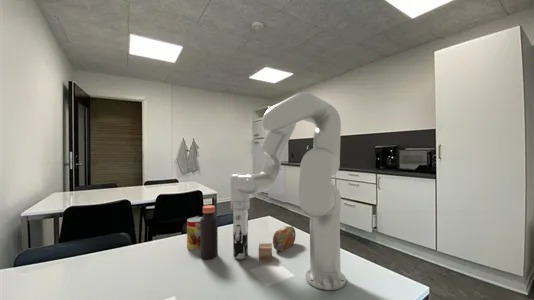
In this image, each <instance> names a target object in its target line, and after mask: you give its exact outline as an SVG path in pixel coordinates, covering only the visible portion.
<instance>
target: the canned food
mask: <svg viewBox="0 0 534 300" xmlns="http://www.w3.org/2000/svg"><path fill="white" fill-rule="evenodd" d="M202 217H203V216H194V217H189V218H187V220H186V247H187V249H190V250H199V249H200V220H201V218H202Z"/></svg>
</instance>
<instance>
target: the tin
mask: <svg viewBox="0 0 534 300" xmlns="http://www.w3.org/2000/svg"><path fill="white" fill-rule="evenodd" d="M295 241H296V229H295V227H293V226H284V227H281V228H280V229H278V230H276V231H275V232H274V233H273V237H272V247H273V248H274V249H275V251H278V252H279V251H280V252H284V251H285V250H287V249H289V248H290V247H292V246H293V245H294V244H295Z"/></svg>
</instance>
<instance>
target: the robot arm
mask: <svg viewBox="0 0 534 300" xmlns="http://www.w3.org/2000/svg"><path fill="white" fill-rule="evenodd" d="M301 121H304V122H307V123H312V124H314V125H315V129H314V132H313V144H312V145H313V146H312V148H311V149H310V150H308V151H306V153H304V155H303V156H302V159H301V162H300V165H299V180H298V181H299V185H298V203H299V207H300V209H301V210H302V212H303V213H304V214H305V215H306V216H308V217H309V255H310V256H309V257H310V258H309V260H310V261H309V262H310V263H309V264H310V267H309V268H310V269H308V270H307V271H306V273H305V280H306V282H307V283H308V284H309V285H310V286H312V287H314V288H316V289H319V290H324V291H325V290H326V291H336V290H339V289H342V288H343V287H345V286H346V283H347V277H346V276H345V275H344V273H342V272H341V271H342V270H341V237H340V236H341V223H340V222H341V206H342V205H341V204H342V198H341V192H340V190H339V188H338V187H337V186H336V184H334V183H332V177H334V176H335V175H336V174H337V173H338V172H339V170H340V167H341V165H340V164H341V161H340V160H341V157H340V156H341V135H342V134H341V131H342V122H341V116H340V114H339V111H338V110H337V109H336V107H334V106H333V105H332V104H330V103H328V102H327V101H325V100H324V99H321V98H320V97H317V96H316V95H315V94H313V93H311V92H307V91H301V92H298V93H296V94H295V93H294V95H292V96H290V97H288V98H286V99H284V100H282V101H280V102H279V103H277V104H274V105H272V106H271V107H270V108H269V109H267V110H266V111H265V113H264V114H263V115H262V120H261V123H262V127H263V128H264V130H265V131H266V134H265V136H264V138H263V141H262V142H261V144H260V150H261V152H262V153H263V154H264V156H265V161H264V165H263V167H262V169H261V171H260V172H259V173H258V172H257V173H250V174H247V173H233V174H231V176H230V210H233V213H232V216H233V220H232V221H233V223H232V226H233V227H232V228H233V229H232V230H233V231H232V233H234V235H235V253H243V235H244V236H245V235H246V234H247V231H248V232H249V213H248V212H249V211H248V210H249V209H250V206H251V205H250V204H251V203H250V195H255V194H259V193H263V192H266V191H269V190H270V189H271V188H272V187H273V185H274V184H275V182H276V180H277V178H278V176H279V175H280V174H279V173H280V171H281V164H282V155H283V153H284V150H285V149H286V147H287V145H288V143H289V140H290V139H291V136H292V135H293V133H294V130H295V128H296V126H297V123H299V122H301ZM235 232H236V233H235ZM240 233H242V234H240ZM240 236H241V238H240Z"/></svg>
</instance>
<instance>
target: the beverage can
mask: <svg viewBox="0 0 534 300" xmlns="http://www.w3.org/2000/svg"><path fill="white" fill-rule="evenodd" d="M248 232H249V230H248V231H247V234H246V235H245V236H244V235H243V253H235V235H234V233H233V232H232V233H233V234H232V235H233V236H232V237H233V240H232V241H233V242H232V244H233V250H232V251H233V258H235V259H236V260H244V259H246V258H247V257H248V255H249V248H248V247H249V245H248V244H249V243H248V242H249V237H248V236H249V235H248V234H249V233H248ZM235 233H236V232H235ZM240 234H242V233H240ZM240 238H241V236H240Z"/></svg>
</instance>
